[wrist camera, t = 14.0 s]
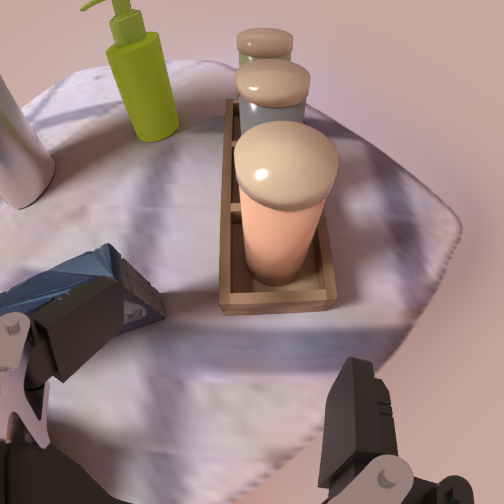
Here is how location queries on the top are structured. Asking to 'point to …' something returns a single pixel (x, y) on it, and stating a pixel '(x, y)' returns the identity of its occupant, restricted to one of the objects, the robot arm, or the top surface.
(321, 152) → the terracotta jar
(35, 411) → the robot arm
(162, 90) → the soap dispenser
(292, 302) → the walnut spice rack
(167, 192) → the top surface
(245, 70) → the slate blue jar
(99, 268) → the vhs cassette tape
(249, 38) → the olive jar
